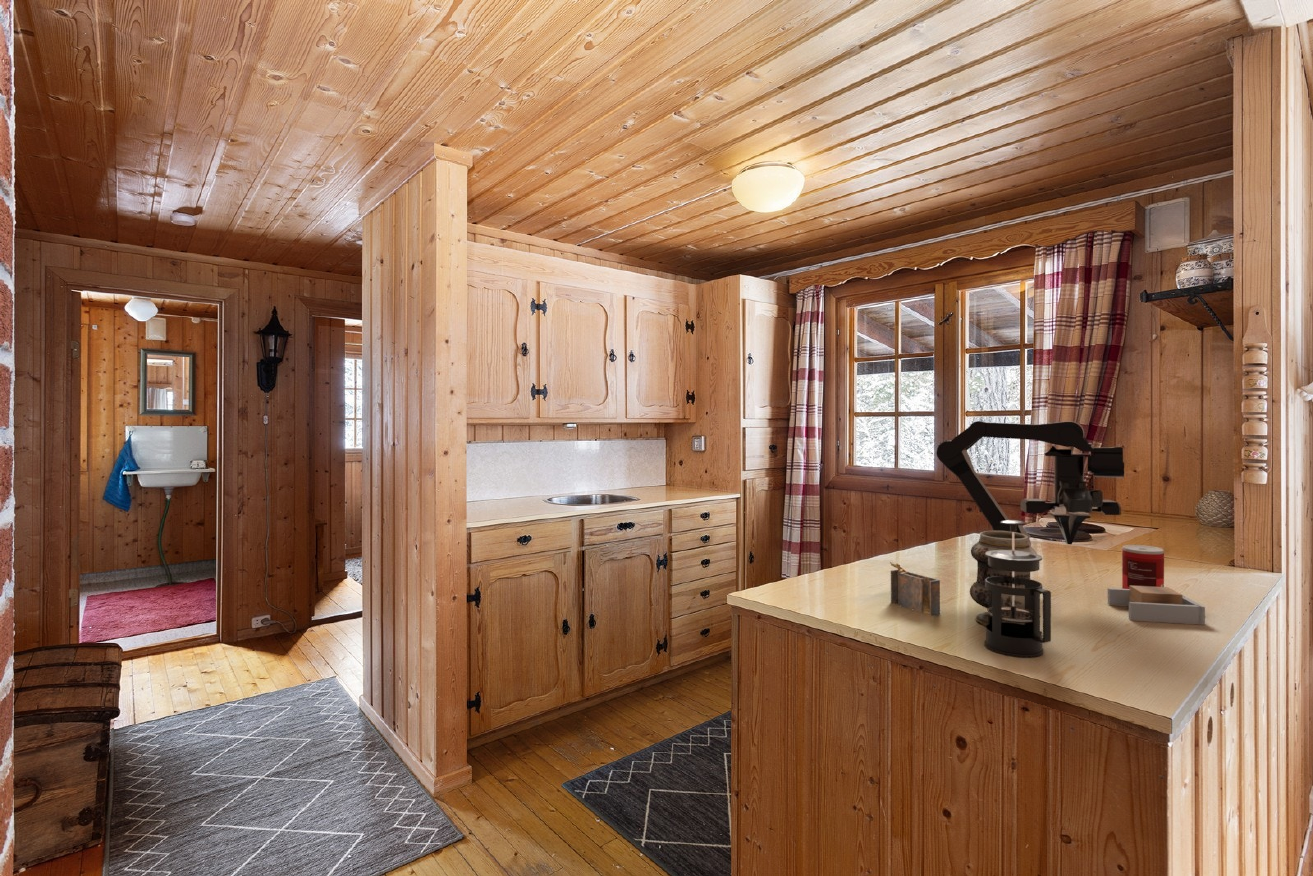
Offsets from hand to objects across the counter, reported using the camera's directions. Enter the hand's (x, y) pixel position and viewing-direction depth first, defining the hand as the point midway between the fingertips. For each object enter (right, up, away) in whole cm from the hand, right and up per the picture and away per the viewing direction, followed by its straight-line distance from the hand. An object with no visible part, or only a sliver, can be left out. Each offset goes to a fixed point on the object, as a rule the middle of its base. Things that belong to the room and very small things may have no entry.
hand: (1069, 544), depth 148 cm
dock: (+9, -12, -14) cm, 20 cm away
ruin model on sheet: (-38, -14, -7) cm, 41 cm away
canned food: (+17, -12, 0) cm, 21 cm away
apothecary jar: (-25, -13, -18) cm, 33 cm away
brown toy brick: (+9, -12, -14) cm, 21 cm away
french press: (-30, -14, -32) cm, 46 cm away
